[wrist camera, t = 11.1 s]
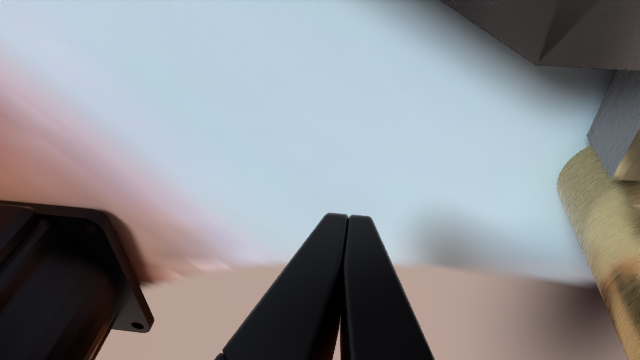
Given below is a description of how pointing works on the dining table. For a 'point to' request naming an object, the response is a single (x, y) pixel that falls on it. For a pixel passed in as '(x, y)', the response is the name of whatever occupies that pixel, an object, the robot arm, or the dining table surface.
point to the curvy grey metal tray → (591, 132)
